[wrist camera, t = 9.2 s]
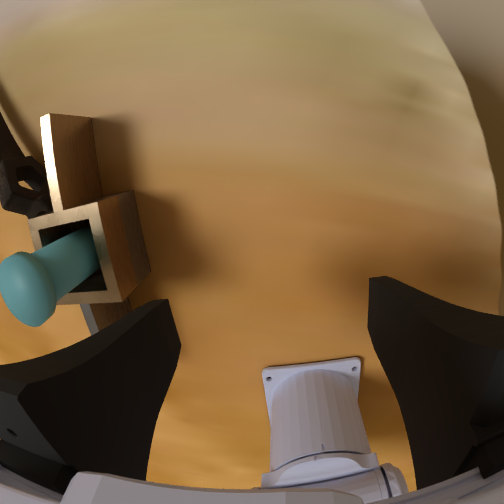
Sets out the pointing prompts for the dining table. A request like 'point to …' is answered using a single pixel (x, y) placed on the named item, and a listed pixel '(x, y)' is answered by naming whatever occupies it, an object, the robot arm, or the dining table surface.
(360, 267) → the dining table surface
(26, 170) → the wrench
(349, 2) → the dining table surface
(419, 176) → the dining table surface
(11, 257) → the pin
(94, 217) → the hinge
